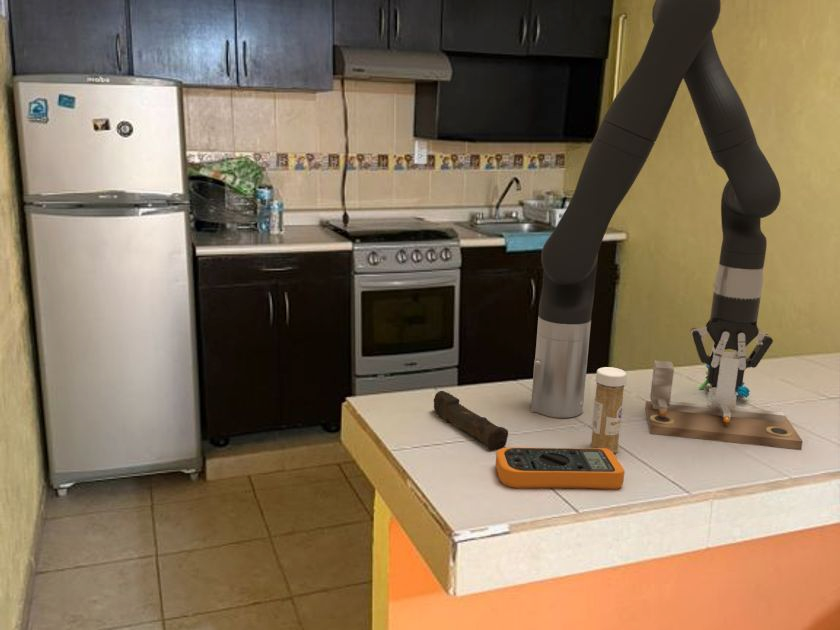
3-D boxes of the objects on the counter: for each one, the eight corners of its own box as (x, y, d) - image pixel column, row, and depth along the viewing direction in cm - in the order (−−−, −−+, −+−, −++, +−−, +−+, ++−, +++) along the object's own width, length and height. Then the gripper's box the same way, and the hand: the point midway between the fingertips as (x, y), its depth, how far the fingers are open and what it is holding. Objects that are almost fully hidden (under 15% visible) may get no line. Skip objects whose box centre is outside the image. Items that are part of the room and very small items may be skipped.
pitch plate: (650, 433, 133) (656, 379, 130) (645, 408, 144) (651, 358, 142) (801, 449, 128) (810, 394, 126) (783, 422, 140) (791, 371, 137)
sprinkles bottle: (617, 457, 123) (625, 376, 119) (588, 453, 124) (595, 373, 121) (619, 446, 127) (627, 368, 124) (590, 442, 128) (598, 364, 125)
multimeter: (492, 465, 120) (494, 444, 119) (608, 466, 120) (610, 445, 120) (500, 491, 111) (502, 469, 110) (625, 492, 112) (627, 470, 111)
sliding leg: (714, 422, 133) (722, 365, 130) (706, 405, 141) (714, 350, 138) (739, 425, 132) (747, 367, 129) (730, 407, 140) (738, 352, 137)
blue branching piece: (761, 397, 147) (729, 361, 145) (739, 419, 147) (707, 383, 145) (729, 385, 158) (699, 351, 156) (709, 406, 158) (678, 372, 156)
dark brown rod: (508, 449, 125) (510, 422, 124) (488, 454, 123) (489, 426, 122) (447, 410, 141) (448, 385, 140) (428, 413, 139) (429, 388, 138)
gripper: (697, 293, 131) (684, 390, 135) (786, 299, 128) (771, 398, 132) (691, 284, 138) (679, 376, 142) (775, 290, 135) (761, 384, 139)
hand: (723, 386), depth 137 cm, fingers closed on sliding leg, 3 cm apart
